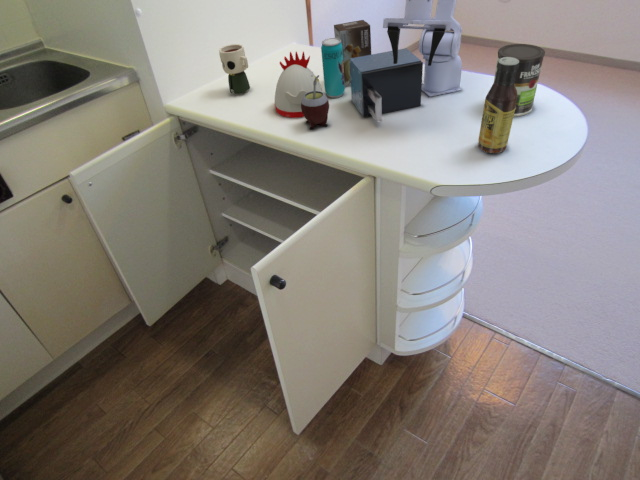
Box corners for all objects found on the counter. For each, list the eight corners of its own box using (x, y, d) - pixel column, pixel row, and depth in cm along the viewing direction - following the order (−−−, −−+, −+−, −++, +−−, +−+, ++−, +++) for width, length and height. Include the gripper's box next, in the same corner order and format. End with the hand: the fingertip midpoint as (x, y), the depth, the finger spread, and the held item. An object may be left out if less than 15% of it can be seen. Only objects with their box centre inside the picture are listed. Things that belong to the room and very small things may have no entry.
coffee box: (366, 74, 143) (364, 18, 132) (372, 81, 138) (371, 25, 127) (337, 79, 142) (333, 24, 131) (343, 87, 137) (339, 30, 126)
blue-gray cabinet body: (419, 104, 124) (421, 60, 116) (362, 116, 122) (360, 71, 114) (405, 90, 131) (406, 48, 124) (351, 101, 129) (349, 58, 122)
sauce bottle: (473, 142, 107) (485, 55, 94) (500, 139, 107) (516, 51, 94) (483, 157, 102) (497, 67, 89) (511, 153, 102) (530, 63, 89)
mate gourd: (312, 116, 125) (306, 60, 115) (338, 121, 121) (334, 63, 111) (297, 129, 120) (289, 71, 110) (324, 134, 117) (318, 75, 107)
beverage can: (343, 99, 131) (340, 44, 121) (323, 99, 132) (318, 45, 122) (346, 90, 135) (343, 37, 125) (327, 90, 136) (322, 37, 126)
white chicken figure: (323, 116, 124) (318, 59, 114) (273, 119, 125) (263, 64, 116) (325, 94, 135) (320, 40, 125) (278, 97, 136) (270, 44, 126)
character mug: (219, 93, 142) (209, 49, 134) (235, 84, 146) (226, 41, 138) (245, 99, 137) (235, 55, 128) (261, 90, 141) (253, 46, 132)
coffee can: (541, 108, 116) (555, 51, 107) (510, 120, 113) (521, 62, 104) (510, 95, 123) (521, 40, 114) (480, 106, 120) (488, 50, 111)
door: (431, 116, 118) (434, 72, 110) (372, 129, 116) (371, 84, 108) (419, 104, 124) (421, 61, 116) (362, 116, 122) (361, 72, 114)
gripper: (383, -5, 97) (378, 64, 103) (455, -3, 94) (444, 68, 101) (387, -5, 103) (382, 60, 109) (454, -3, 100) (445, 64, 107)
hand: (412, 64), depth 105 cm, fingers open, 7 cm apart
